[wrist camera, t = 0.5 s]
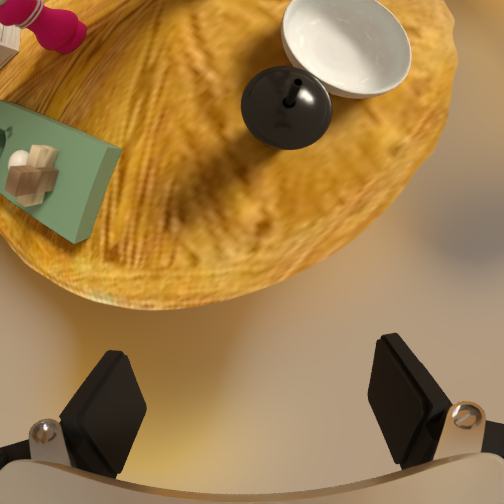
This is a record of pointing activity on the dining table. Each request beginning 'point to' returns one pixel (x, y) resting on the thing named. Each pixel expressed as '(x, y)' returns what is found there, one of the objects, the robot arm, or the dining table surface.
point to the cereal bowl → (347, 45)
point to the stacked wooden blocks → (33, 176)
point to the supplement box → (8, 43)
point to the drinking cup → (286, 108)
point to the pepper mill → (44, 23)
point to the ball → (18, 158)
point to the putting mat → (67, 162)
